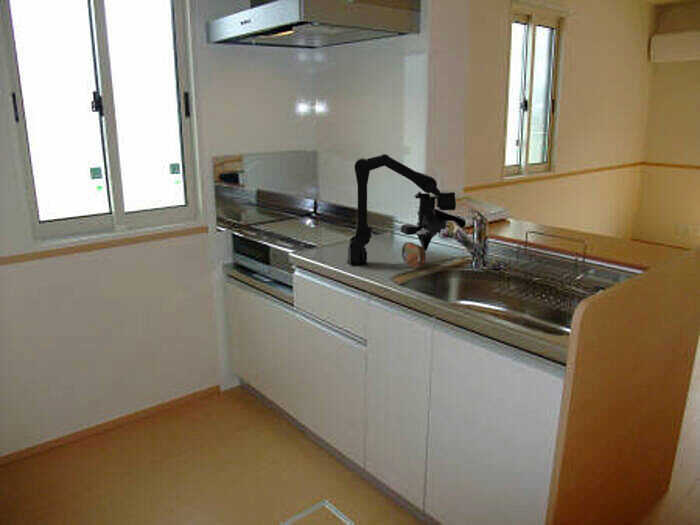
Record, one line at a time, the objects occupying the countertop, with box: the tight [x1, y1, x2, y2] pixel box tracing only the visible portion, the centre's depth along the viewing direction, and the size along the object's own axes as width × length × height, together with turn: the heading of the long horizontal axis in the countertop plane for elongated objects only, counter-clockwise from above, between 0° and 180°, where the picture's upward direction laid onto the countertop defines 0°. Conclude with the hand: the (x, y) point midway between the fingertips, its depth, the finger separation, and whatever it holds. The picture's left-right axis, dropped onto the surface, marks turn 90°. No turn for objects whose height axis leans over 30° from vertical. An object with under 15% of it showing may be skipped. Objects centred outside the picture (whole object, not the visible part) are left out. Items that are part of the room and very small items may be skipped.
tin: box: [401, 241, 427, 269], centre depth 207 cm, size 15×3×8 cm, turn 21°
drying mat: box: [389, 262, 413, 270], centre depth 206 cm, size 6×6×1 cm
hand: (424, 250), depth 208 cm, fingers closed
